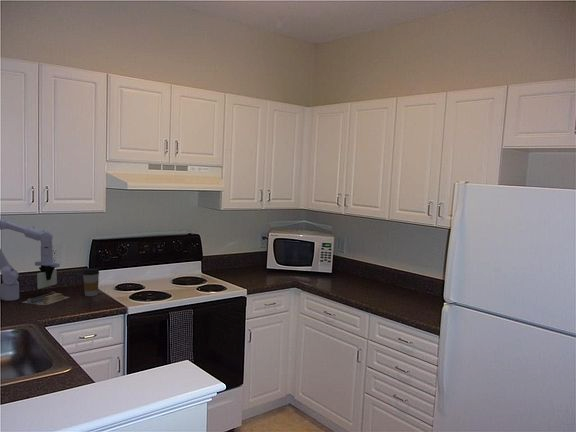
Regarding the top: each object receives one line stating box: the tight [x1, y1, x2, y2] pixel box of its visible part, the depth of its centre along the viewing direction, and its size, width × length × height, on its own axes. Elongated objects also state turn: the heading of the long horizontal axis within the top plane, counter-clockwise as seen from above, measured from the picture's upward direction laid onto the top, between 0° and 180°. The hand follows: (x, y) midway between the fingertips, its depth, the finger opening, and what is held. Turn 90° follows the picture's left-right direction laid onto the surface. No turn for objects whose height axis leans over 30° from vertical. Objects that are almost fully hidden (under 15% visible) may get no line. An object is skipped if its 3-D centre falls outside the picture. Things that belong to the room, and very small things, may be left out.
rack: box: [21, 291, 70, 306], centre depth 246 cm, size 15×17×3 cm
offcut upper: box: [45, 292, 63, 300], centre depth 244 cm, size 4×8×2 cm, turn 163°
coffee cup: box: [82, 267, 100, 297], centre depth 258 cm, size 8×8×15 cm
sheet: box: [36, 268, 58, 290], centre depth 252 cm, size 1×12×8 cm, turn 163°
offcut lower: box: [43, 295, 66, 304], centre depth 244 cm, size 4×10×2 cm, turn 163°
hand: (47, 279), depth 252 cm, fingers closed on sheet, 1 cm apart
